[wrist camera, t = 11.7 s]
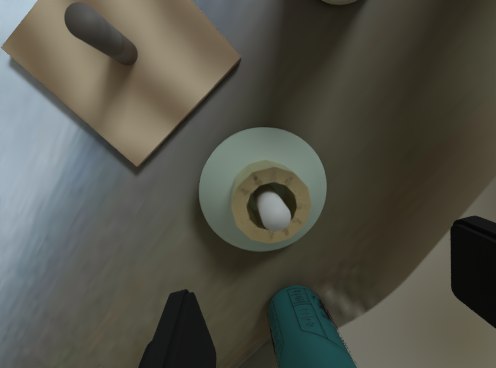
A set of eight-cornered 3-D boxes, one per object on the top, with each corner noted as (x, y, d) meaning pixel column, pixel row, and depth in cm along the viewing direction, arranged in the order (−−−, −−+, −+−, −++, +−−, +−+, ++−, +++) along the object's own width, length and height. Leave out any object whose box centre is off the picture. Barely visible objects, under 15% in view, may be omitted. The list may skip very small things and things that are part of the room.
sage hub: (262, 101, 22) (282, 84, 14) (337, 185, 25) (394, 216, 16) (178, 185, 24) (148, 219, 15) (257, 257, 26) (271, 321, 18)
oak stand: (117, -82, 18) (51, -204, 12) (240, 60, 21) (245, 29, 15) (11, 51, 20) (-101, 12, 13) (140, 165, 23) (103, 181, 16)
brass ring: (289, 153, 21) (302, 159, 17) (301, 213, 22) (316, 231, 18) (224, 170, 21) (223, 180, 17) (241, 229, 22) (243, 251, 18)
